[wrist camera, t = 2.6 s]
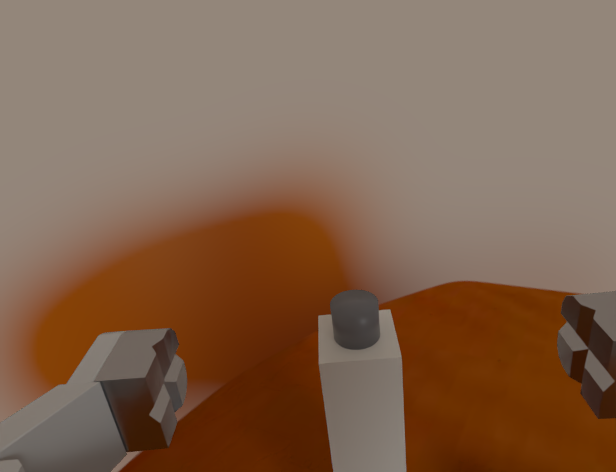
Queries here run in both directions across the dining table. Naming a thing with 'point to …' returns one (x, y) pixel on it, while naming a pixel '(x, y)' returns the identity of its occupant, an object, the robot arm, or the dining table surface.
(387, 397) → the white square bottle
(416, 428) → the dining table surface
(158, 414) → the robot arm
